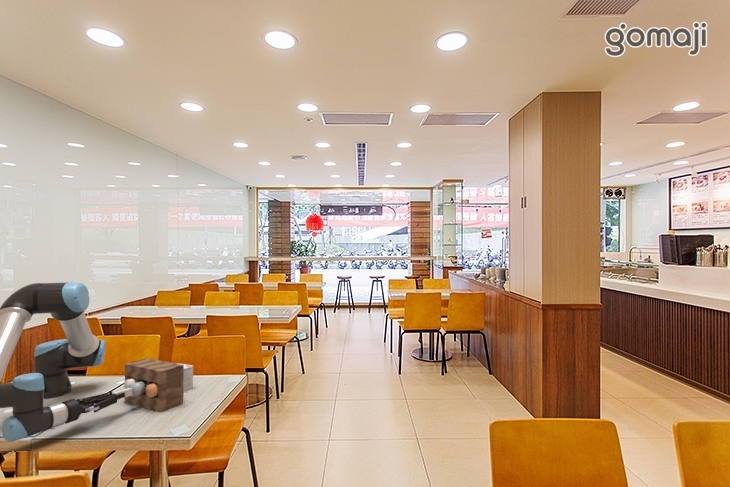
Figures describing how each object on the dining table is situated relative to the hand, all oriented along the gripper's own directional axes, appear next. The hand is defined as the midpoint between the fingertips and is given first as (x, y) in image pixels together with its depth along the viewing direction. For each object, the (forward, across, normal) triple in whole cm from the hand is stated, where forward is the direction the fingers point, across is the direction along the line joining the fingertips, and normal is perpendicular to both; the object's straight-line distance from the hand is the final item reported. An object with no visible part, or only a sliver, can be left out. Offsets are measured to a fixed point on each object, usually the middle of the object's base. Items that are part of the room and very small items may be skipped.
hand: (130, 391), depth 154 cm
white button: (+7, -7, -2) cm, 11 cm away
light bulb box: (+26, -5, -8) cm, 28 cm away
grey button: (+5, 0, -2) cm, 5 cm away
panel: (+10, 0, -8) cm, 13 cm away
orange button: (+7, +7, -2) cm, 10 cm away
